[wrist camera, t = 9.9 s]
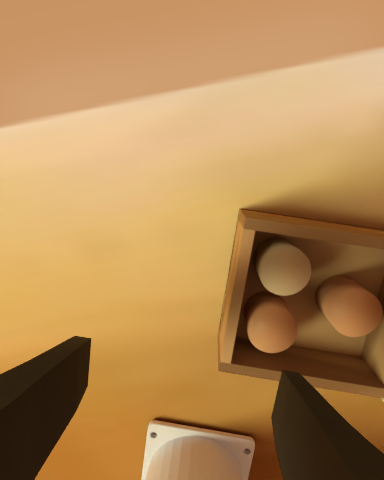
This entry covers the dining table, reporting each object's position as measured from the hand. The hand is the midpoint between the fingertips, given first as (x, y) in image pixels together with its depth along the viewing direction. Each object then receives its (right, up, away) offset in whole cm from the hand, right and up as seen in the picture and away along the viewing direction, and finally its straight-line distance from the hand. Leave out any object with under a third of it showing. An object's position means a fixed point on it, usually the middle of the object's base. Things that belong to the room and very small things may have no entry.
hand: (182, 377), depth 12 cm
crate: (+8, +2, +9) cm, 12 cm away
